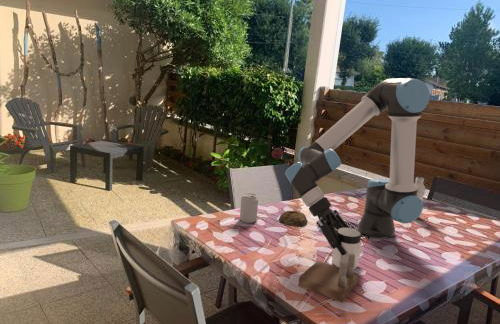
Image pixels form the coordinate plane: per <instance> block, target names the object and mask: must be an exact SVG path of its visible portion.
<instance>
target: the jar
mask: <svg viewBox="0 0 500 324" xmlns="http://www.w3.org/2000/svg"><path fill="white" fill-rule="evenodd" d="M336 232H337V234H338V237H339V239H340V241H341V243H342V244H343V245H344V246H345V247H346V248H347V249H348V251H349V252H350V253H351V254H354V255H355V263H354V270H355V269H357V267H359V264H360V255H361V253H360V249H362V248H361V247H362V243H363V242H362V240H361V239H362V233H361V232H360V231H359V230H358V229H355V228H351V227H350V228H339V229H336ZM332 249H333V248H332ZM331 258H332V259H331V263H332V265H333V266H336V267H339V268H340V263H341V262H346V261H345V259H344V258H343V256H342V255H341V253H340V252H339V251H338V249H337V248H335V249H333V251H332V257H331ZM346 263H347V262H346Z"/></svg>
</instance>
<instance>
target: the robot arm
mask: <svg viewBox="0 0 500 324" xmlns="http://www.w3.org/2000/svg"><path fill="white" fill-rule="evenodd" d="M430 96H431V93H430V90H429V87H428V86H427V84H426V83H425V82H423V81H422V80H421V79H418V78H412V77H406V78H405V77H404V78H402V77H399V78H387V79H385V80H384V79H383V80H382V81H381V82H380V83H378V84H376V85H375V86H374V87H372V88H371V89H370V90H369V91H367V93H365V94H364V95H363V96H362V97H361V101H360V102H359V103H357V104H356V105H355V106H354V107H353V108H352V109H351V110H349V111H348V112H347V113H346V114H345V115H344V116H342V118H340V119H339V120H337V122H335V124H333V125H332V126H331V127H330V128H329V129H327V130H326V131H325V132H324V133H323V134H322V135H320V137H319V138H317V139H316V140H315V141H314V142H312V143H311V144H310V145H309V146H308V145H307V146H305V145H304V146H302V147H301V148H300V149H299V151H298V154H297V158H298V160H299V161H296V162H295V163H293V164H292V165H290V166H289V167H288V168H287V169H286V170H285V172H284V176H285V177H286V178H287V180H288V182H289V183H290V185H291V186H292V188H293V189H294V190H295V192H296V193H297V195H298V196H299V197H300V199H301V200H302V202H303V203H304V205H306V207H307V208H308V211H309V213H311V215H312V216H313V217H318V220H317V221H316V222H315V224H316V225H317V226H318V228H319V229H320V230H321V232H322V234H323V236H324V237H325V239H326V240H327V242H328V244H329V246H330V247H331V248H332V249H335V248H337V249H338V251H339V252H340V253H341V255H342V256H343V258H344V259H345V261H346V262H347V264H348V256H349V254H351V253H350V252H349V251H348V249H347V248H346V247H345V246H344V245H343V244H342V243H341V241H340V239H339V237H338V234H337V229H339V228H351V227H350V226H349V225H348V224H347V223H346V222H345V220H344V219H343V217H342V216H340V214H339V212H338V211H337V209H334V210H333V211H332V209H331V208H330V207H331V206H332V203H331V202H330V201H329V199H328V198H327V196H325V194H324V191H322V189H321V188H320V186H319V185H318V184H317V182H318V181H320V180H321V179H323V178H324V177H326V176H327V175H329V174H331V173H332V172H335V170H337V169H338V168H339V167H340V166H341V165H342V161H341V159H340V156H339V155H338V154H337V152H336V151H335V149H337V148H338V147H339V146H341V144H343V143H344V142H345V141H346V140H347V139H349V137H351V136H352V135H353V134H354V133H355V132H357V131H358V130H359V129H360V128H361V127H363V125H365V124H367V122H368V121H369V120H371V119H372V118H374V116H375V117H376V116H379V115H381V114H382V113H383V112H384V111H387V118H389V119H390V120H391V132H390V134H391V136H390V157H389V160H390V161H389V162H390V163H389V179H387V178H385V179H384V178H373V179H370V180H368V182H367V185H366V193H365V201H364V202H365V203H364V210H363V214H362V217H361V218H360V220H359V222H358V225H357V231H359V232H360V233H361V234H362V235H363V234H364V235H366V236H368V237H372V238H377V239H390V238H393V237H394V236H395V235H396V228H395V224H394V221H395V222H398V223H400V224H410V223H412V222H414V221H416V220H417V219H418V218H417V217H419V216H420V214H421V213H422V214H423V210H424V203H423V200H422V201H421V200H420V198H419V197H417V186H416V185H415V184H414V183H415V181H414V179H415V177H414V176H415V164H416V163H415V161H416V160H415V159H416V146H417V145H416V142H417V140H416V139H417V126H418V125H417V124H418V123H417V122H418V120H419V119H421V117H422V115H423V114H422V113H423V110H425V109H426V107H427V106H429V102H430V98H431V97H430ZM363 252H364V251H363V249H362V248H361V249H360V254H363Z"/></svg>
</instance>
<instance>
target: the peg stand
mask: <svg viewBox="0 0 500 324" xmlns="http://www.w3.org/2000/svg"><path fill="white" fill-rule="evenodd" d="M354 263H355V255H354V254H349V256H348V264H347V263H346V262H341V263H340V268H339V267H337V266H335V265H334V264H330V263H326V262H323V261H320V260H317V261H316V262H315V263H313V264H312V265H311V266H310V267H309V268H307V269H306V270H305V271H304V272H303V273H302V274H300V275H299V277H298V287H301V288H303V289H305V290H309V291H311V292H314V293H317V294H319V295H322V296H324V297H327V298H330V299H333V300H335V301H338V302H340V303H344V301H345V300H346V299H347V297H348V296H349V295H350V294H351V293H352V292H353V290H354V289H355V288H356V286H357V285H358V284H359V279H360V273H357V272H354V270H355V269H354Z"/></svg>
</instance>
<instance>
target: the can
mask: <svg viewBox="0 0 500 324" xmlns="http://www.w3.org/2000/svg"><path fill="white" fill-rule="evenodd" d="M258 204H259V197H258V195H257V194H255V193H253V192H250V193H249V192H246V193H243V194H242V196H241V197H240V210H239V220H240V221H241V222H242V223H246V224H254V223H255V222H256V221H257V220H258V219H257V218H258Z"/></svg>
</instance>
